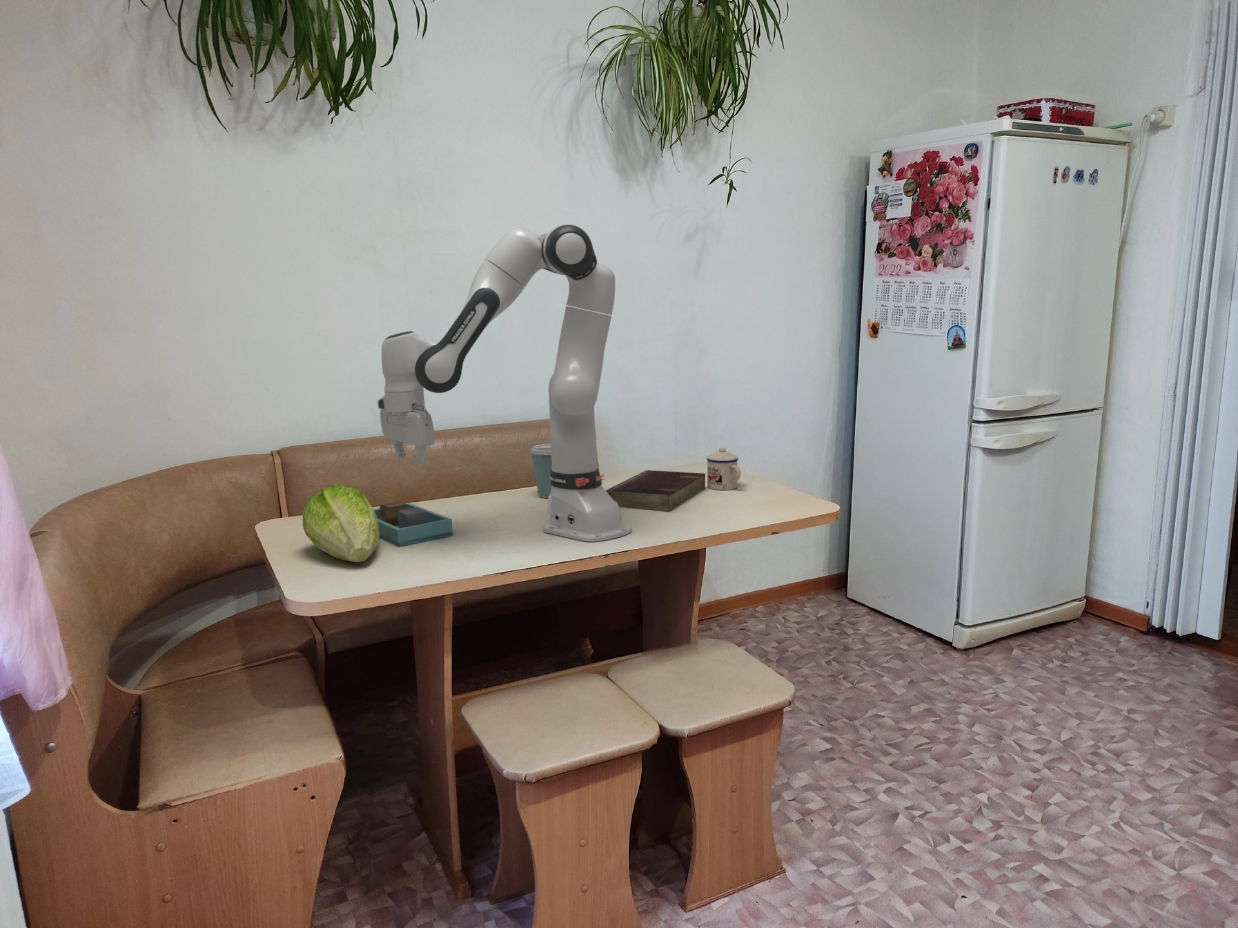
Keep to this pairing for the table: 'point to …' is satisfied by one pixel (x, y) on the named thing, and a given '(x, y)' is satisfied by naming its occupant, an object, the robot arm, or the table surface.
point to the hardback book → (657, 490)
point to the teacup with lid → (722, 470)
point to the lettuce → (342, 523)
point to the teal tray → (415, 529)
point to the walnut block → (391, 511)
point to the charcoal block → (411, 517)
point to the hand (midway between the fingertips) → (410, 460)
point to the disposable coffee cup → (542, 468)
